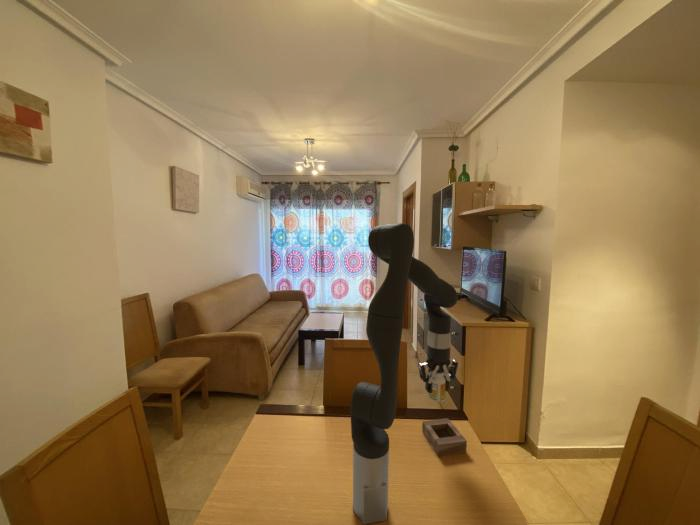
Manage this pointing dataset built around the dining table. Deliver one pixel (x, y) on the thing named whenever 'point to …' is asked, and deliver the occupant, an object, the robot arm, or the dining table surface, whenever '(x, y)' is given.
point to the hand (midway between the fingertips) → (437, 390)
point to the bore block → (444, 437)
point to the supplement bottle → (438, 388)
